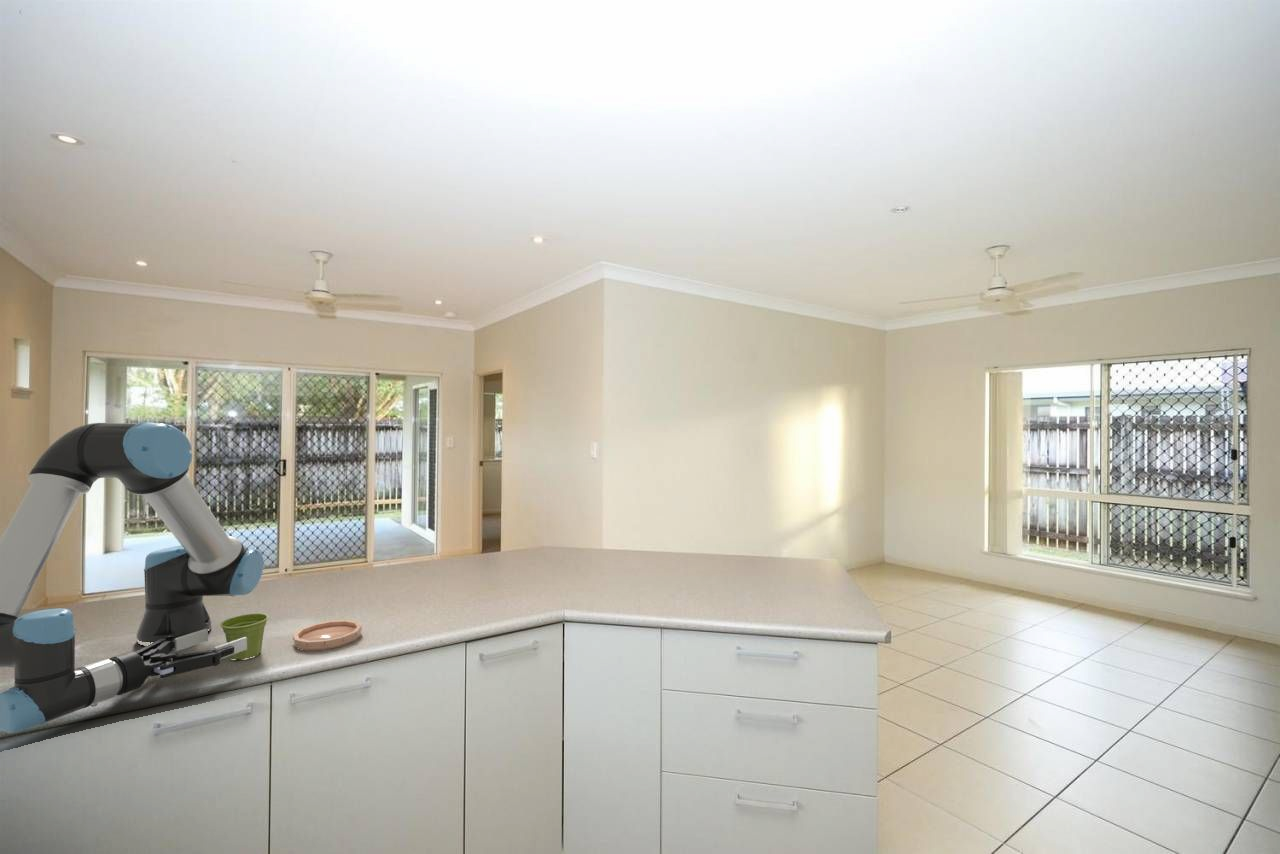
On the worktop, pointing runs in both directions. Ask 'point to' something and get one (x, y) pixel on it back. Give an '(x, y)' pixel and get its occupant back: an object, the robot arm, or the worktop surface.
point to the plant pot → (246, 633)
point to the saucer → (327, 635)
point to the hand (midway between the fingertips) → (226, 638)
